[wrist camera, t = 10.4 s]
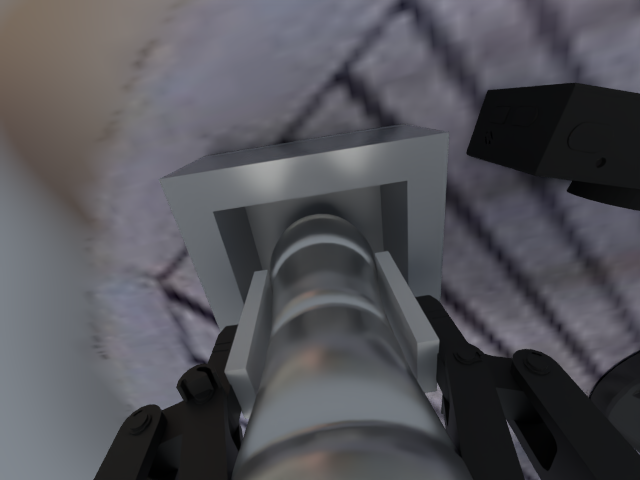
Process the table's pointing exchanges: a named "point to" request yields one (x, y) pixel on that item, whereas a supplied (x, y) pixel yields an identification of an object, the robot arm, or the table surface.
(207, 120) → the table surface
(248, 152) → the well
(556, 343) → the table surface
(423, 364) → the robot arm
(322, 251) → the plastic bottle
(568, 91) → the digital camera
